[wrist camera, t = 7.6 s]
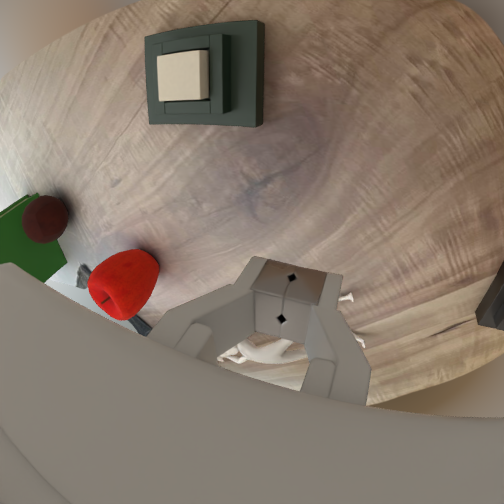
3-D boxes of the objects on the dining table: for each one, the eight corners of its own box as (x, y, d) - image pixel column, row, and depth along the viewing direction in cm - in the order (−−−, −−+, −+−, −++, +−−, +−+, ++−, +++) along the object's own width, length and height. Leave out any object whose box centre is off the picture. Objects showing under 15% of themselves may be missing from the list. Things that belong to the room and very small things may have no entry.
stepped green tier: (156, 37, 23) (133, 36, 20) (264, 23, 19) (249, 16, 16) (160, 120, 28) (139, 128, 26) (262, 124, 25) (248, 131, 22)
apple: (161, 236, 39) (110, 285, 30) (178, 286, 43) (137, 335, 35) (119, 233, 42) (71, 274, 34) (137, 277, 47) (97, 319, 38)
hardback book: (26, 194, 49) (-51, 252, 31) (37, 192, 46) (-48, 256, 28) (53, 258, 59) (-12, 319, 41) (67, 262, 56) (-4, 329, 38)
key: (167, 55, 21) (156, 56, 20) (209, 50, 19) (199, 49, 18) (168, 99, 23) (158, 101, 22) (209, 97, 22) (200, 99, 21)
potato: (43, 191, 45) (8, 214, 38) (68, 181, 40) (26, 207, 33) (58, 228, 50) (27, 253, 43) (86, 226, 45) (49, 255, 38)
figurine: (368, 362, 32) (196, 391, 39) (357, 310, 40) (211, 344, 48) (355, 309, 28) (160, 351, 36) (343, 258, 37) (183, 304, 44)
